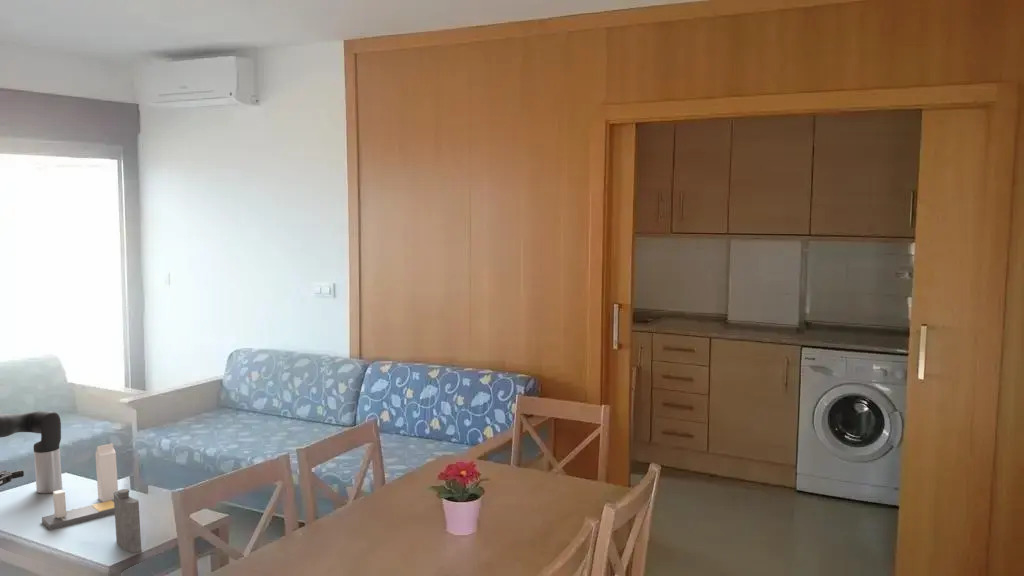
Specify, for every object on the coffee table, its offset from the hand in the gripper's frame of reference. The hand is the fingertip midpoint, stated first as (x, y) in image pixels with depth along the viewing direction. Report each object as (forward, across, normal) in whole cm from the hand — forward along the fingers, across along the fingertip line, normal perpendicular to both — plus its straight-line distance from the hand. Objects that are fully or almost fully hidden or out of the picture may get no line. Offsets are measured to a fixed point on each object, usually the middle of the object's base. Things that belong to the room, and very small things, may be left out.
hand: (23, 473), depth 289 cm
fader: (+11, 0, +19) cm, 22 cm away
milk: (+32, +14, +22) cm, 41 cm away
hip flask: (+21, -40, +22) cm, 50 cm away
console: (+19, 0, +22) cm, 29 cm away
